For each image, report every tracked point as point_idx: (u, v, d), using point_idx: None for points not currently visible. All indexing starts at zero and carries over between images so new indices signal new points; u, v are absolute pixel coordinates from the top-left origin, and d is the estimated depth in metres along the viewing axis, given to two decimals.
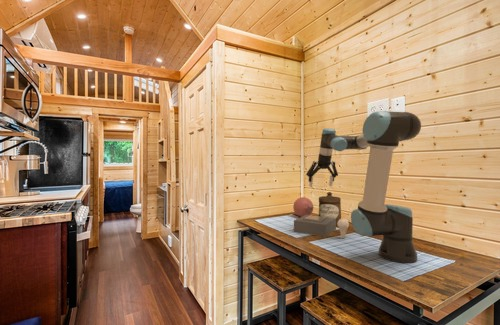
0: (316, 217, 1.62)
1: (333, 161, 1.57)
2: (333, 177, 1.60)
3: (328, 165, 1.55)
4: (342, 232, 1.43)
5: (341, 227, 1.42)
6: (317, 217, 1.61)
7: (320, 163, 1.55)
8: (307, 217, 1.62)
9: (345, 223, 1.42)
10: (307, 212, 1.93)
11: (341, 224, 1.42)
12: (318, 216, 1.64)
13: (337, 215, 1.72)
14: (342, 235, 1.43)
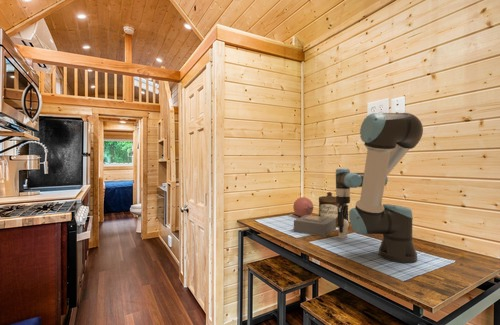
0: (316, 217, 1.62)
1: None
2: None
3: (347, 207, 1.45)
4: None
5: None
6: (317, 217, 1.61)
7: (343, 206, 1.41)
8: (307, 217, 1.62)
9: (345, 223, 1.42)
10: (307, 212, 1.93)
11: None
12: (318, 216, 1.64)
13: (337, 215, 1.72)
14: None
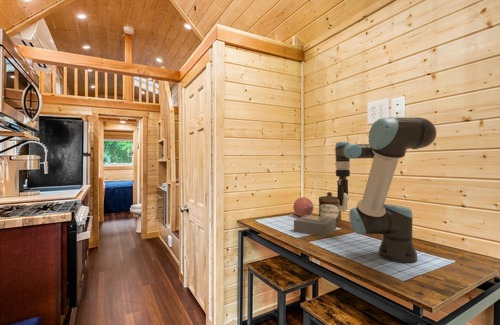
0: (316, 217, 1.62)
1: None
2: None
3: (347, 181, 1.45)
4: None
5: None
6: (317, 217, 1.61)
7: (343, 179, 1.41)
8: (307, 217, 1.62)
9: (345, 196, 1.41)
10: (307, 212, 1.93)
11: None
12: (318, 216, 1.64)
13: (337, 215, 1.72)
14: None
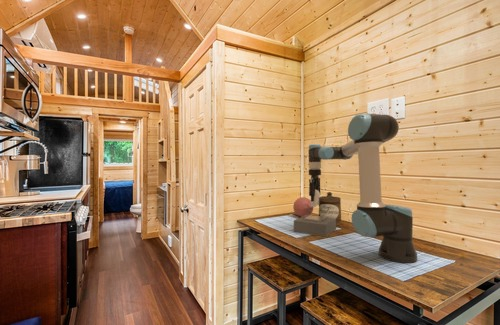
0: (316, 217, 1.62)
1: None
2: None
3: (318, 179, 1.61)
4: None
5: None
6: (317, 217, 1.61)
7: (314, 178, 1.58)
8: (307, 217, 1.62)
9: (316, 193, 1.58)
10: (307, 212, 1.93)
11: None
12: (318, 216, 1.64)
13: (337, 215, 1.72)
14: None
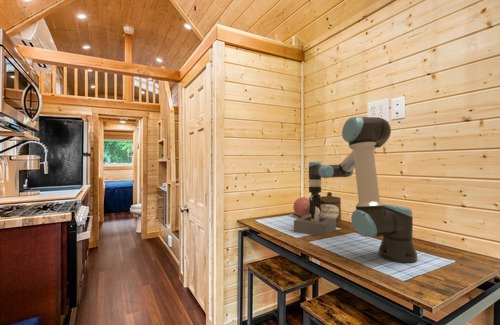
0: None
1: None
2: None
3: (319, 197, 1.61)
4: None
5: None
6: None
7: (315, 195, 1.58)
8: None
9: (316, 210, 1.58)
10: (307, 212, 1.93)
11: None
12: None
13: (337, 215, 1.72)
14: None
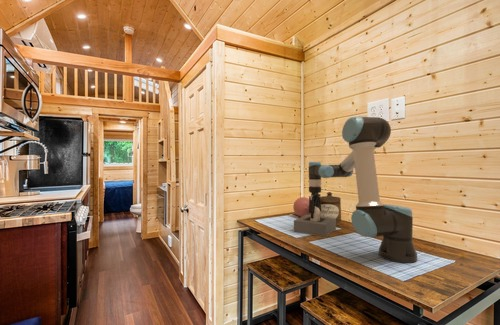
0: None
1: None
2: None
3: (319, 196, 1.61)
4: None
5: None
6: None
7: (314, 195, 1.58)
8: None
9: (316, 210, 1.58)
10: (307, 212, 1.93)
11: None
12: None
13: (337, 215, 1.72)
14: None
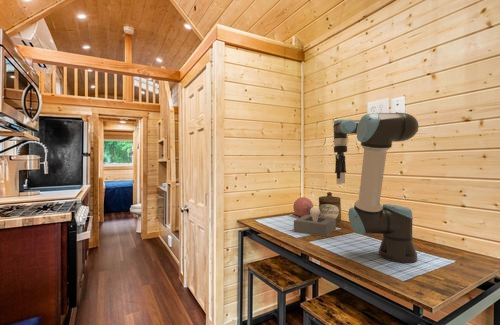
0: None
1: None
2: None
3: (344, 157, 1.54)
4: (314, 218, 1.60)
5: (313, 214, 1.59)
6: None
7: (341, 154, 1.50)
8: None
9: (316, 210, 1.58)
10: (307, 212, 1.93)
11: (313, 211, 1.59)
12: None
13: (337, 215, 1.72)
14: None
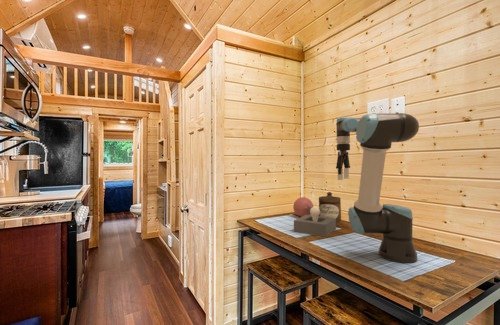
0: None
1: None
2: None
3: (347, 154, 1.53)
4: (314, 218, 1.60)
5: (313, 214, 1.59)
6: None
7: (343, 153, 1.50)
8: None
9: (316, 210, 1.58)
10: (307, 212, 1.93)
11: (313, 211, 1.59)
12: None
13: (337, 215, 1.72)
14: None
